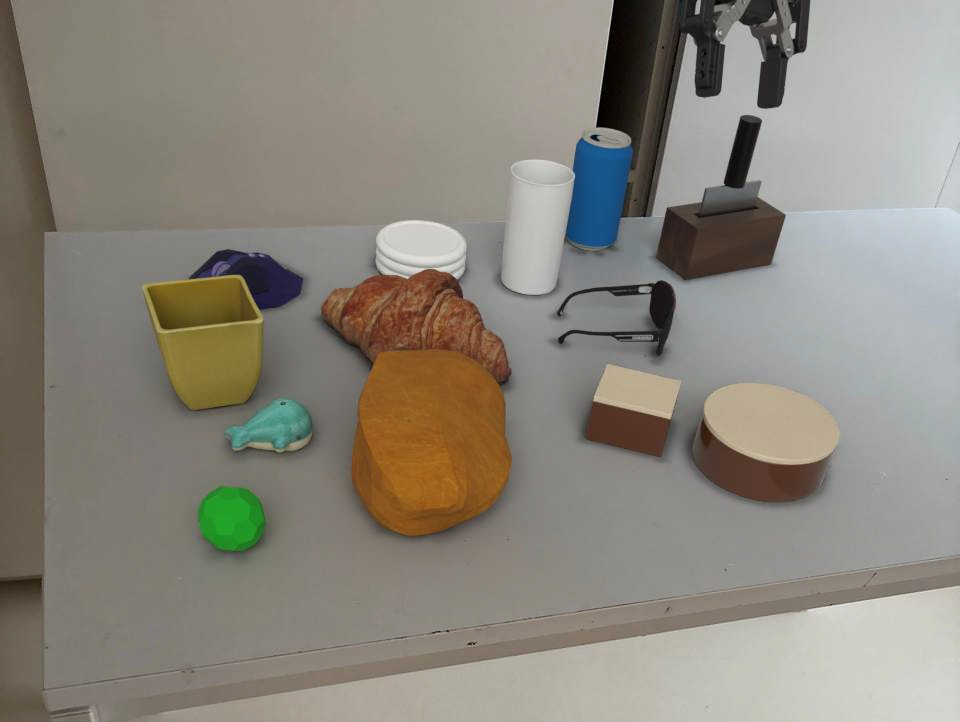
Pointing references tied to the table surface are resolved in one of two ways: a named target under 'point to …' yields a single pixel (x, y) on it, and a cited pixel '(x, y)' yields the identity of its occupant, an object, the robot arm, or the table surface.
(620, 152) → the beverage can
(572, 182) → the mug
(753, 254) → the knife block
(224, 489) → the polyhedron
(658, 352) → the sunglasses
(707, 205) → the knife
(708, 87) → the robot arm
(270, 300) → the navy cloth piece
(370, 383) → the bread
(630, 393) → the cake slice
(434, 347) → the pastry
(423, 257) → the coaster
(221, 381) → the flower pot
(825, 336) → the table surface
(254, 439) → the whale figurine
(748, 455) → the cake
